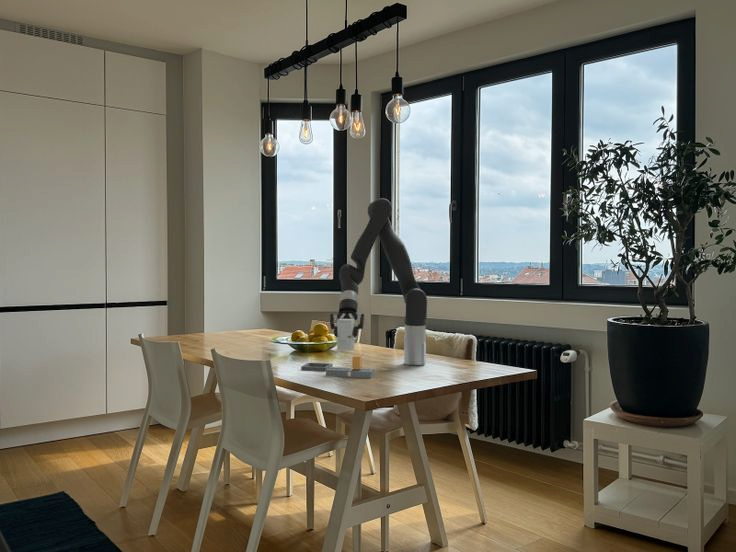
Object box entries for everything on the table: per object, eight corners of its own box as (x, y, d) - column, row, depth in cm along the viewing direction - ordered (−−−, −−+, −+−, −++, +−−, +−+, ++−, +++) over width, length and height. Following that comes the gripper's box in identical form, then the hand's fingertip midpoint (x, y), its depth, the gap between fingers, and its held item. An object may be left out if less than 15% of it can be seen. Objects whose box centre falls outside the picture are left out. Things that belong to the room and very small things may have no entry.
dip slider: (361, 367, 258) (362, 355, 257) (359, 369, 254) (359, 356, 254) (354, 367, 258) (354, 355, 258) (352, 369, 254) (352, 356, 254)
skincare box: (336, 350, 256) (336, 319, 255) (340, 348, 260) (340, 318, 259) (351, 350, 254) (351, 319, 253) (355, 349, 258) (354, 318, 258)
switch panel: (374, 375, 258) (374, 368, 258) (370, 378, 251) (370, 371, 251) (330, 372, 262) (330, 366, 262) (325, 376, 255) (325, 369, 255)
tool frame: (332, 367, 276) (332, 363, 276) (325, 371, 266) (325, 367, 265) (308, 365, 278) (308, 362, 278) (301, 370, 268) (301, 366, 268)
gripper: (330, 298, 264) (326, 330, 253) (365, 297, 263) (363, 330, 252) (332, 309, 270) (328, 342, 258) (366, 309, 268) (364, 342, 257)
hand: (345, 336), depth 255 cm, fingers closed on skincare box, 6 cm apart
